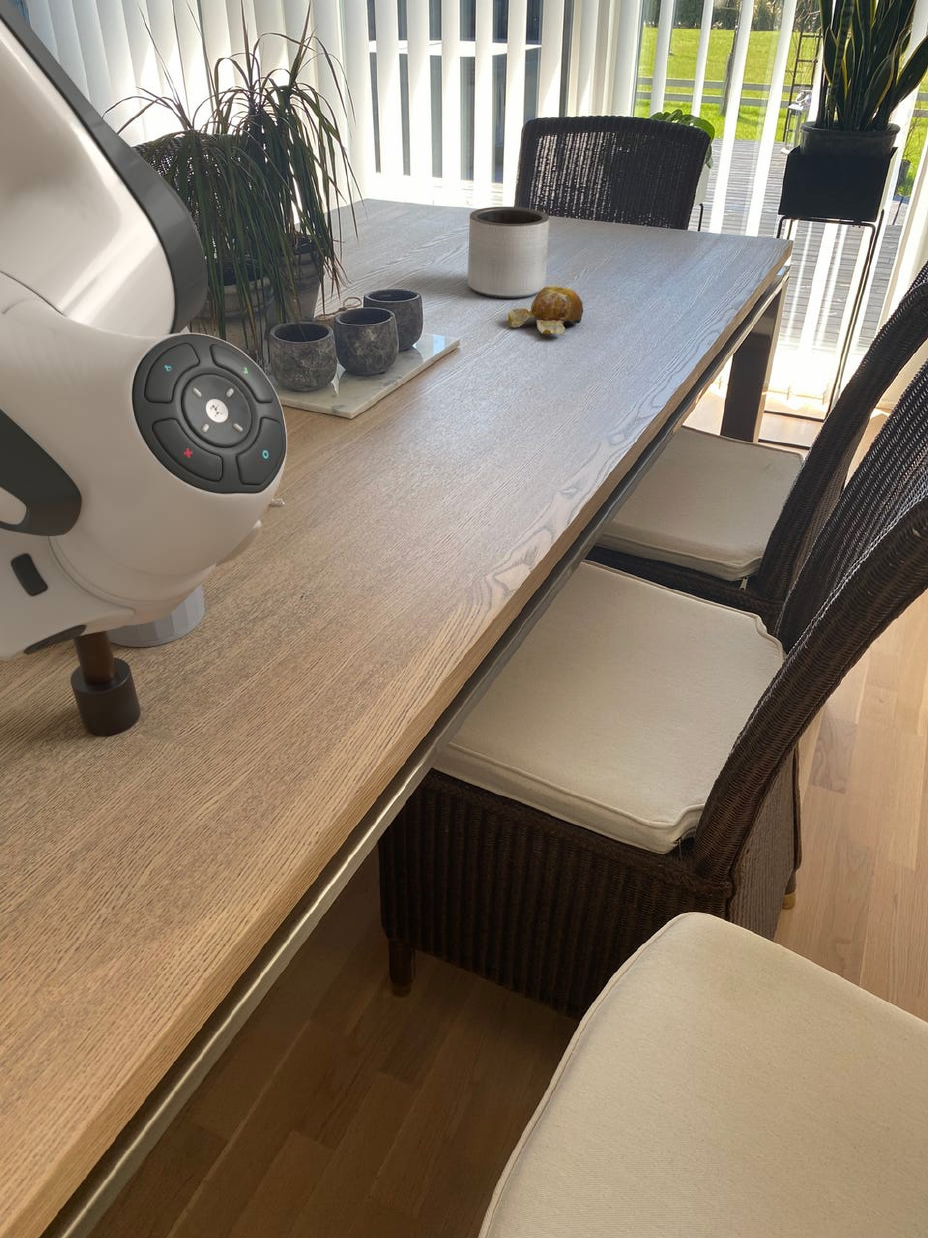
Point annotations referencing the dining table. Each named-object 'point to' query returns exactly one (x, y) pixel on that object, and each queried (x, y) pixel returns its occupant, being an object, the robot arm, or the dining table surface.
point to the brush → (103, 687)
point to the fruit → (550, 310)
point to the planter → (507, 251)
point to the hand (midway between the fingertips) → (80, 612)
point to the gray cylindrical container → (163, 625)
